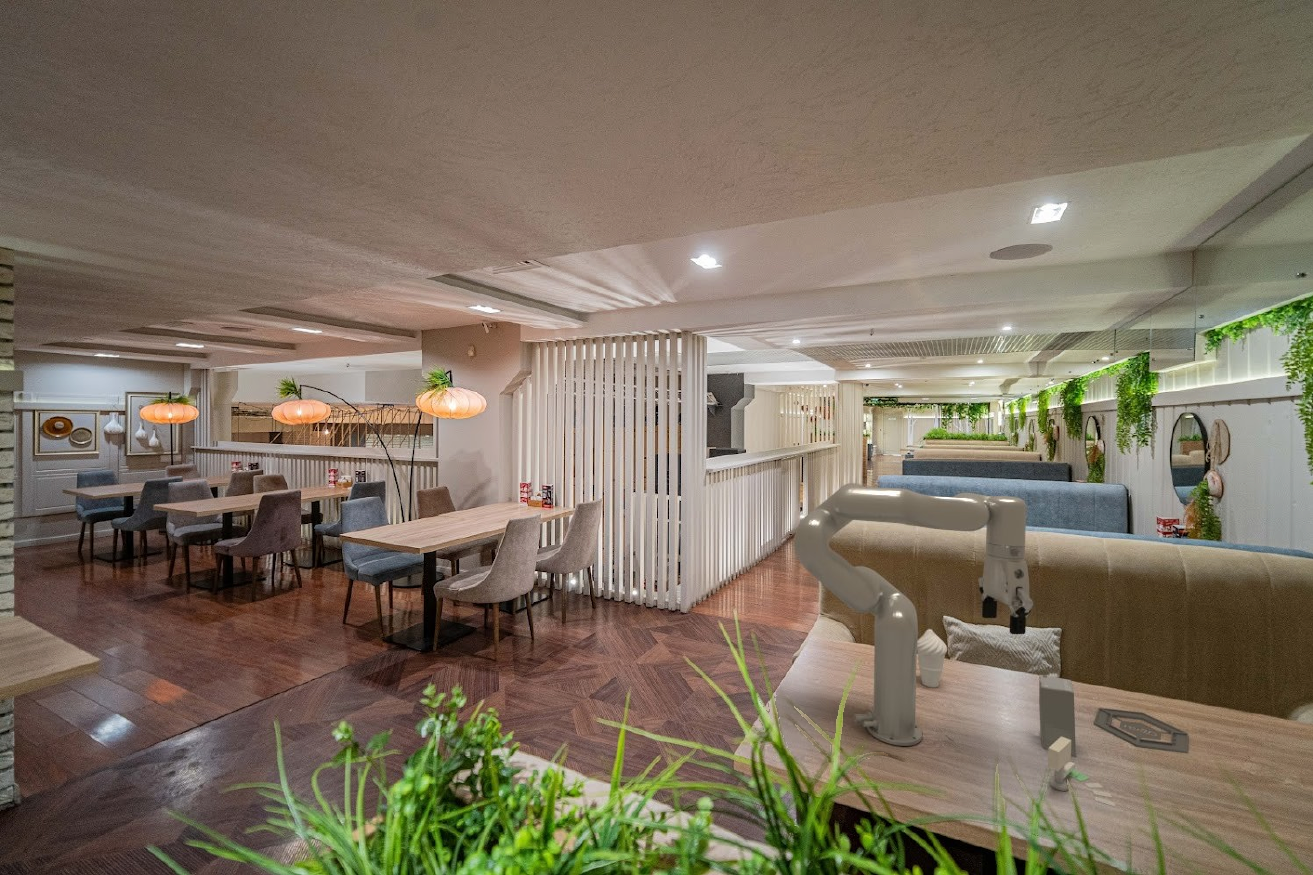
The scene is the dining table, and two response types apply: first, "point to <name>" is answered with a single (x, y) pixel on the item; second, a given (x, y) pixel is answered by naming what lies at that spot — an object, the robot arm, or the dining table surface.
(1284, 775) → the dining table surface
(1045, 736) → the skincare box
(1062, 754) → the beige block on stand
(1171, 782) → the dining table surface
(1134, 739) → the grey hexagonal plate
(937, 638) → the soft serve ice cream cone
